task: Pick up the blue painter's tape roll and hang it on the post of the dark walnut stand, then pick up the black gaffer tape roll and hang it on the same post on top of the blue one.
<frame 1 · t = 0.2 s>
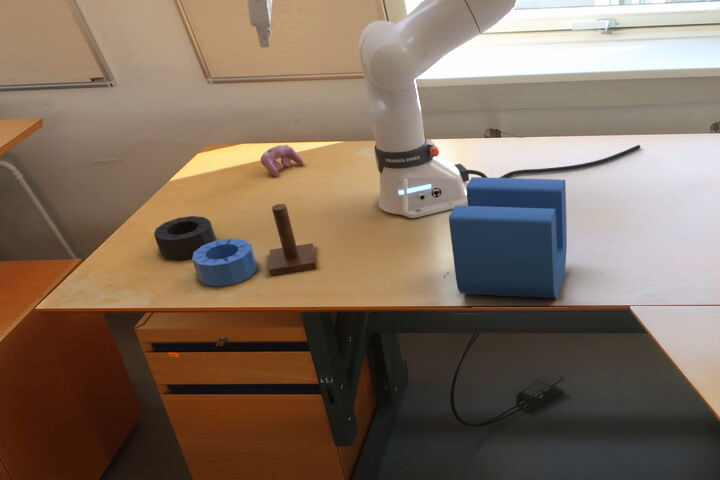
hand: (265, 40, 156), 39 cm above the table, tool pointing down, fingers open, 8 cm apart
blue tape: (228, 272, 159), on the table
wooden stand: (293, 262, 162), on the table
video game controller: (284, 170, 203), on the table
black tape: (189, 247, 169), on the table
block: (515, 284, 151), on the table
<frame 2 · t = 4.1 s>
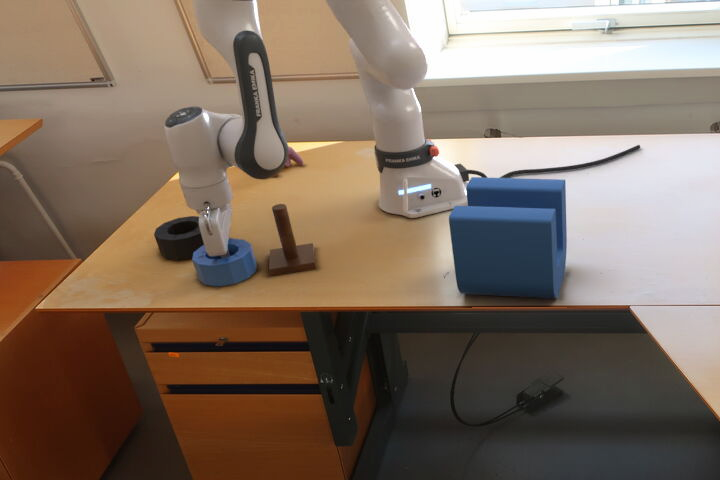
hand: (227, 255, 162), 2 cm above the table, tool pointing down, fingers closed on blue tape, 2 cm apart
blue tape: (228, 272, 159), on the table, touching gripper
everything else where it was.
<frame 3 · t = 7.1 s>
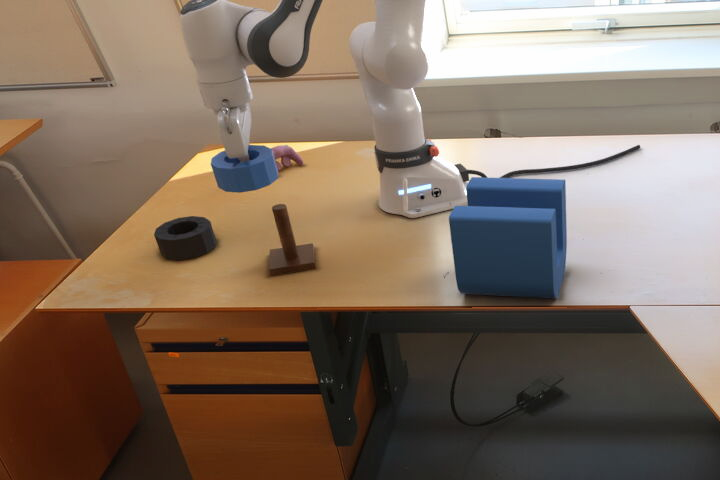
hand: (247, 163, 153), 20 cm above the table, tool pointing down, fingers closed on blue tape, 2 cm apart
blue tape: (248, 180, 150), point 19 cm above the table, touching gripper
everything else where it was.
when the fingers open (12 cm above the table, at t = 10.1 s): blue tape drops 9 cm, resting on wooden stand.
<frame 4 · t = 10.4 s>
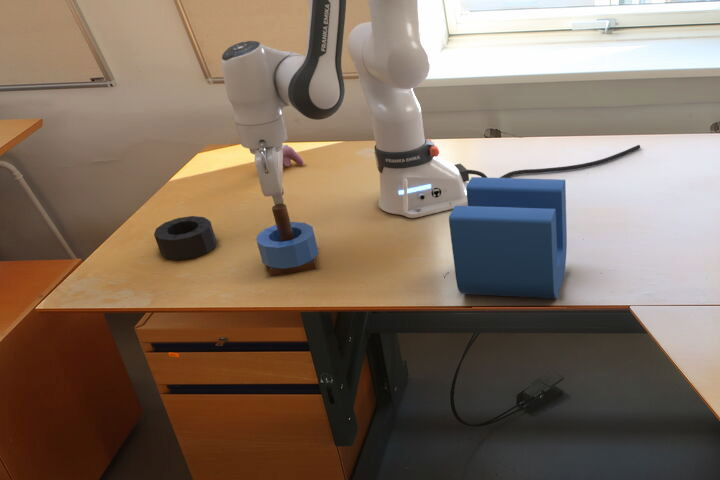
hand: (279, 199, 158), 12 cm above the table, tool pointing down, fingers open, 3 cm apart
blue tape: (290, 255, 161), point 1 cm above the table, touching wooden stand
everything else where it was.
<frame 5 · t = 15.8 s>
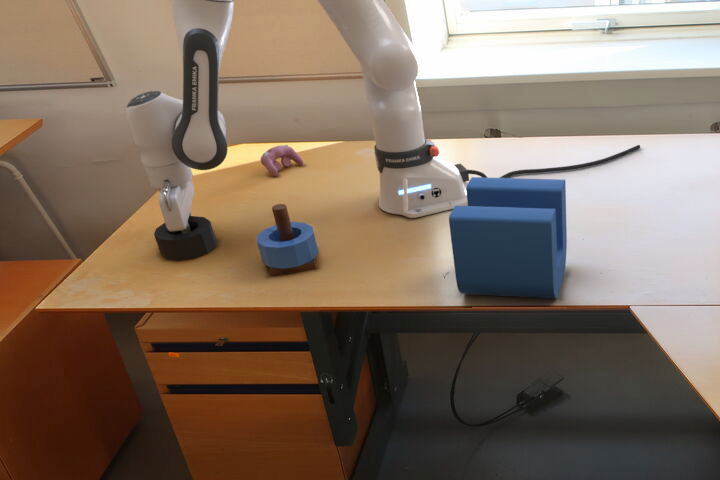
hand: (189, 231, 171), 2 cm above the table, tool pointing down, fingers closed on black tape, 2 cm apart
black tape: (189, 247, 169), on the table, touching gripper
everything else where it was.
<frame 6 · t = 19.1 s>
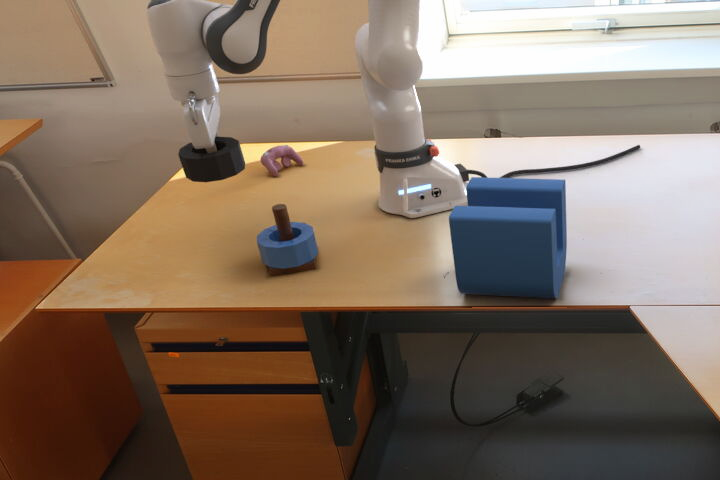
hand: (215, 154, 157), 20 cm above the table, tool pointing down, fingers closed on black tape, 2 cm apart
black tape: (216, 170, 155), point 19 cm above the table, touching gripper
everything else where it was.
when the fingers open (12 cm above the table, at t = 22.7 s): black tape drops 3 cm, resting on blue tape.
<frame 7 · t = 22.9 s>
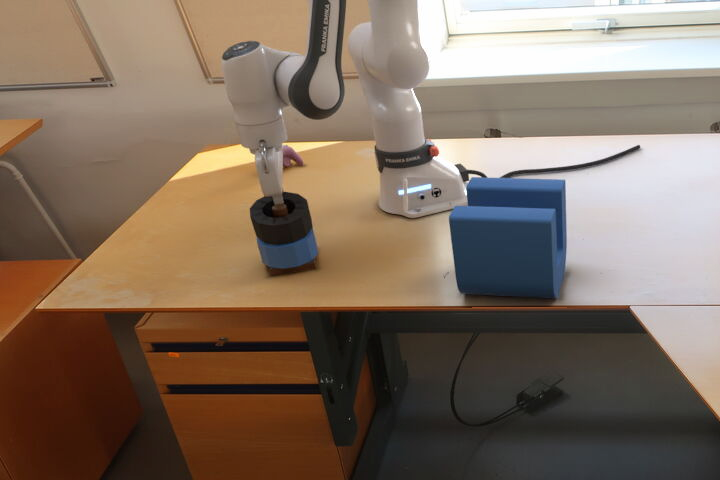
hand: (279, 199, 158), 12 cm above the table, tool pointing down, fingers open, 3 cm apart
blue tape: (290, 255, 161), point 1 cm above the table, touching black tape, wooden stand
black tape: (284, 227, 158), point 7 cm above the table, tilted 11°, touching blue tape
everything else where it was.
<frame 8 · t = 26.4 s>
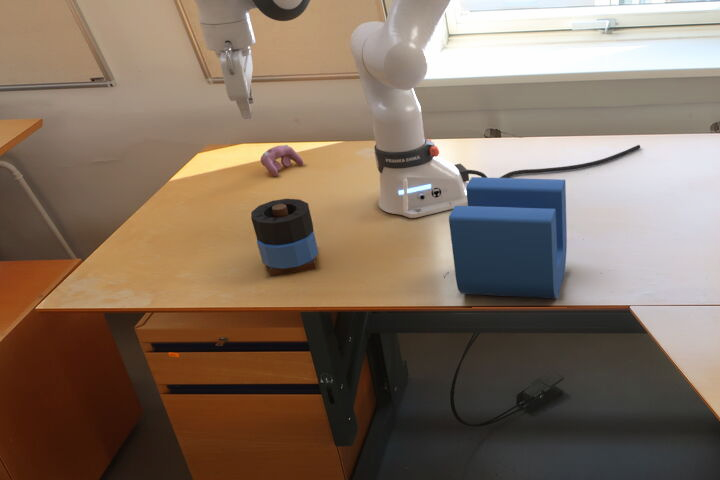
hand: (248, 110, 152), 29 cm above the table, tool pointing down, fingers open, 8 cm apart
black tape: (285, 232, 159), point 6 cm above the table, touching blue tape
everything else where it was.
at the end: blue tape 0.4 cm off-centre on the wooden stand, point 1.5 cm above the wooden stand's base; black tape 1.4 cm off-centre on the wooden stand, point 6.3 cm above the wooden stand's base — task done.
